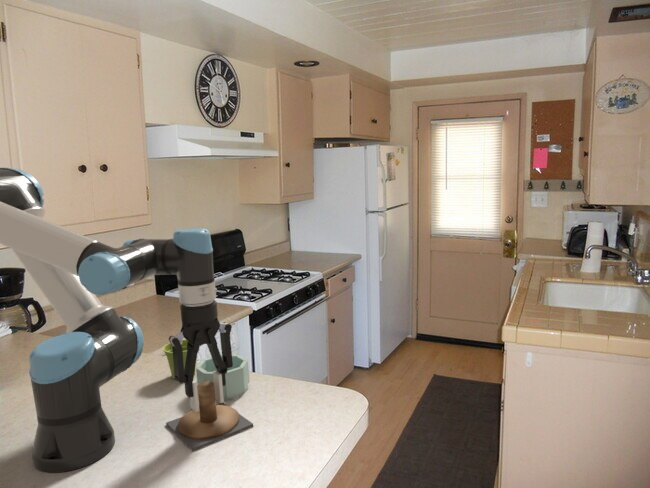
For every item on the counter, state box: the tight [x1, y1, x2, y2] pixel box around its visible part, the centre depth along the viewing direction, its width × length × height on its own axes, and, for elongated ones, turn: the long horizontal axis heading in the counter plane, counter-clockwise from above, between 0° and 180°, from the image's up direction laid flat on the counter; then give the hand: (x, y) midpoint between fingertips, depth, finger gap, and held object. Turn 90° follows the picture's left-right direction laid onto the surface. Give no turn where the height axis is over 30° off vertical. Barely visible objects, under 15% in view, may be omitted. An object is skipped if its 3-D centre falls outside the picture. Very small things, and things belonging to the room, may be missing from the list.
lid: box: [178, 381, 240, 439], centre depth 111 cm, size 13×13×9 cm
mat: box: [165, 401, 254, 452], centre depth 112 cm, size 14×14×1 cm
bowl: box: [195, 354, 250, 402], centre depth 129 cm, size 12×12×7 cm
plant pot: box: [162, 339, 197, 380], centre depth 139 cm, size 9×9×9 cm
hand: (207, 404), depth 111 cm, fingers open, 5 cm apart
